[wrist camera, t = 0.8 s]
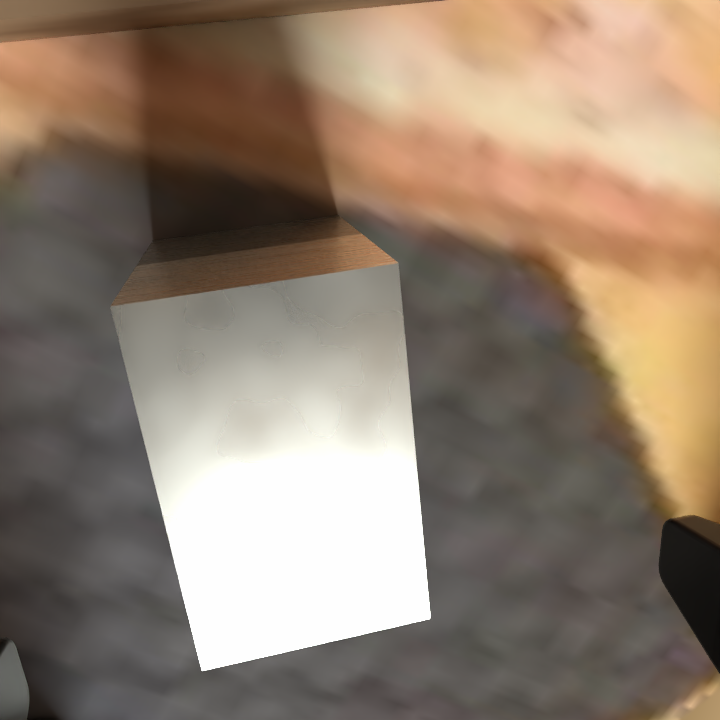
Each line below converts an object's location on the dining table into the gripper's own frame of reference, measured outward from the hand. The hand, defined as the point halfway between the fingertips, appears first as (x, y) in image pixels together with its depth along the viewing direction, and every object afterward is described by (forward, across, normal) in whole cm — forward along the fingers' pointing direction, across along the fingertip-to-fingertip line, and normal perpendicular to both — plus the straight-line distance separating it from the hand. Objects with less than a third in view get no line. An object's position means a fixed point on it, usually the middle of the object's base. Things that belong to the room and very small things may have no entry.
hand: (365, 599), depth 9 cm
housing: (+11, +1, 0) cm, 11 cm away
